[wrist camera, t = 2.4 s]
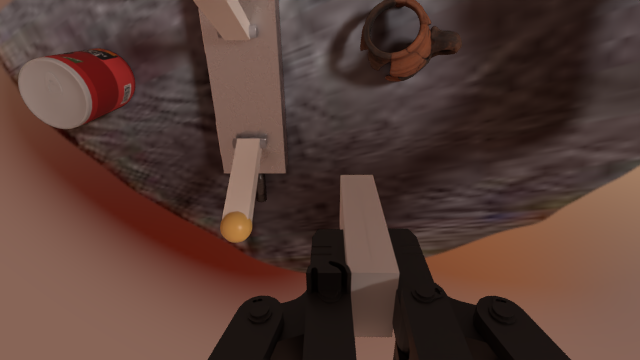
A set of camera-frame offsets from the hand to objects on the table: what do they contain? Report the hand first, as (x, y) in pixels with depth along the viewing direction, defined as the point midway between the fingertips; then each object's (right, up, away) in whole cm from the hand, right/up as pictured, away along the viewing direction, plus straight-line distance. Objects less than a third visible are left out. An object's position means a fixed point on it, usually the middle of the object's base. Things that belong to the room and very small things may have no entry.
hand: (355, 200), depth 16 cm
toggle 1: (-12, +18, +24) cm, 32 cm away
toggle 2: (-11, +6, +30) cm, 33 cm away
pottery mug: (+9, +19, +29) cm, 36 cm away
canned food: (-31, +15, +32) cm, 47 cm away
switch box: (-12, +13, +32) cm, 37 cm away
